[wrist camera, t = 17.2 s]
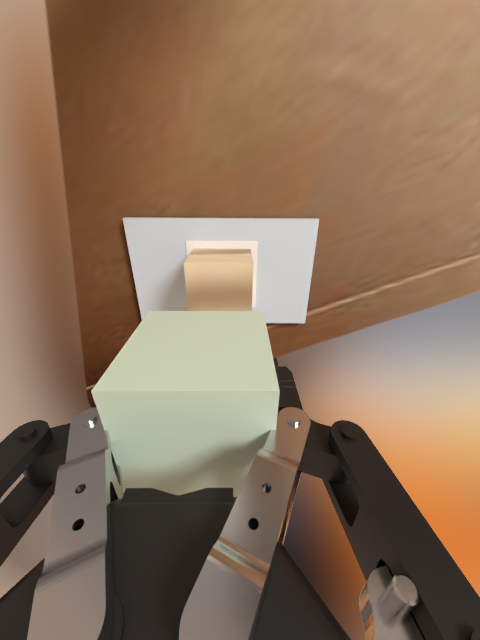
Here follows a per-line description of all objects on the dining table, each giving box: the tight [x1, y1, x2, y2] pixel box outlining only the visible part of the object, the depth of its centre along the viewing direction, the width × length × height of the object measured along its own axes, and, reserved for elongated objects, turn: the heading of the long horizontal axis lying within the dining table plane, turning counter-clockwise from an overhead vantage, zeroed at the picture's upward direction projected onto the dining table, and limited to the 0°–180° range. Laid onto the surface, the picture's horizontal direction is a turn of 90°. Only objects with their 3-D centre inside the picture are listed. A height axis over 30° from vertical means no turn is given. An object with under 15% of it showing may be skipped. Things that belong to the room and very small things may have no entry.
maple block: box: [184, 248, 254, 311], centre depth 26 cm, size 6×6×6 cm
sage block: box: [91, 311, 280, 497], centre depth 12 cm, size 6×6×6 cm
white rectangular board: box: [123, 217, 319, 323], centre depth 29 cm, size 12×20×1 cm, turn 90°
